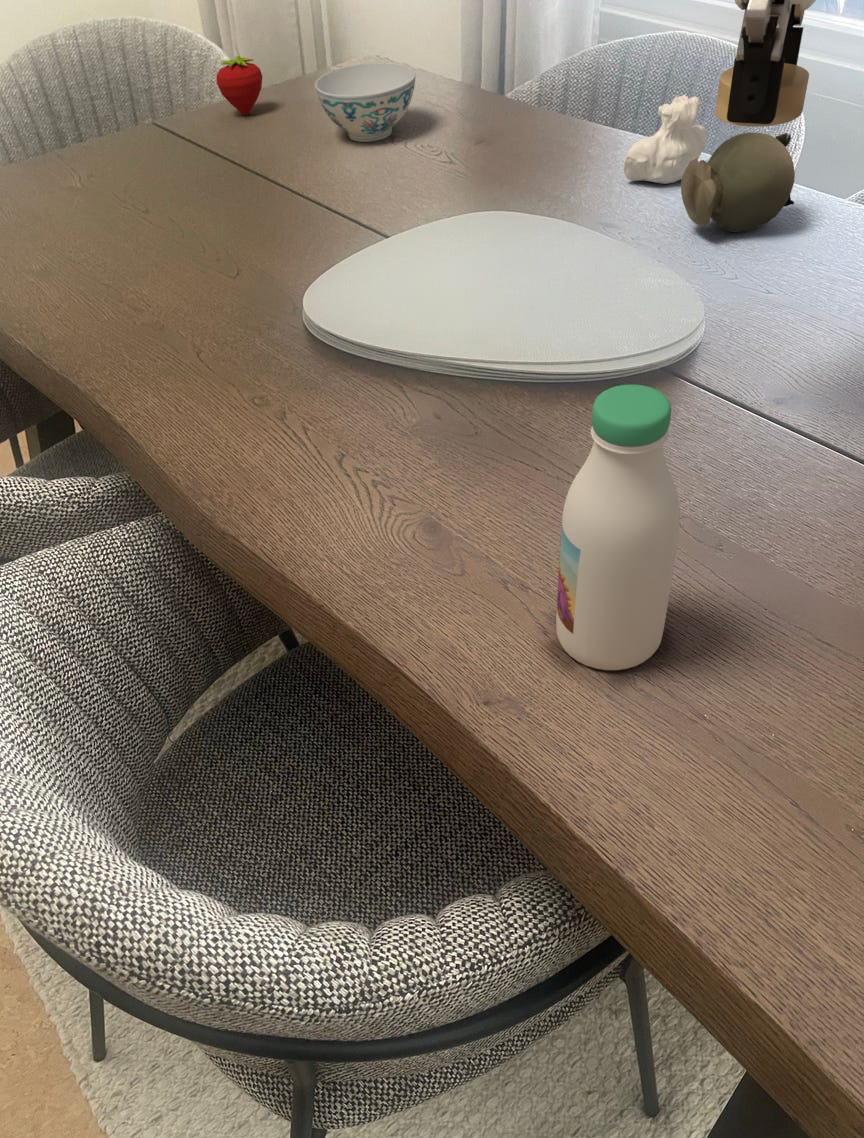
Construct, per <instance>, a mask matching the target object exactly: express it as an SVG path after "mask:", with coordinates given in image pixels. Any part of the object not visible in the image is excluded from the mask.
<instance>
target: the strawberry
mask: <svg viewBox="0 0 864 1138" xmlns="http://www.w3.org/2000/svg"><path fill="white" fill-rule="evenodd" d="M234 47H235V50H236V52H237V54H238V56H235V57H234V59H229V60H228V59H227V60H222V62H221V63H220V65H222V66H223V65H225V66H223V67H221V68H220V69H219V70H218V72H217V73H216V85H217V87H218V90H219V91H220V93H221V95H222V96H223V97H224V98H225V100H226V101H228V103H229V104H230V105H232V106H233V107H234V109H236V110H237V111H238V112H239V113H240V114H241V115H242V116H248V115H250V113H251V112H252V110H253V107H254V106H255V104H256V102H257V101H258V98H259V95H260V93H261V90H262V87H263V74H262V71H261V69H260V67H259V66H258V65H256V64H255V63H252V61H255V60H254V58H248V57H241V55H240V52H239V51H238V48H237V46H236V45H234Z"/></svg>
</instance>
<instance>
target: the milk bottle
mask: <svg viewBox="0 0 864 1138" xmlns="http://www.w3.org/2000/svg"><path fill="white" fill-rule="evenodd" d="M671 418H672V405H671V401H670V399H669V397H667V395H665V394H664V393H663V392H661V391H660V390H658V389H656V388H653V387H651V386H647V385H642V384H622V385H616V386H613V387H610V388H608V389H605V390H604V391H602V392H601V393H599V394H598V395H597V397H596V398H595V400H594V402H593V405H592V411H591V425H592V426H591V428H590V435H591V438H592V440H593V444H592V447H591V449H590V452H589V454H588V456H587V458H586V460H585V462H584V463H583V465H582V466H581V468H580V469H579V471H578V472H577V474H576V476H575V477H574V479H573V480H572V482H571V484H570V486H569V489H568V492H567V495H566V498H565V501H564V506H563V510H562V517H561V527H560V539H559V554H558V556H559V558H558V573H557V574H558V575H557V595H556V617H555V619H556V620H555V631H556V636H557V640H558V641H559V643H560V646H561V647H562V649H563V650H564V651H565V652H566V653H567V654H568V656H570V657H571V658H572V659H574V660H575V661H577V662H578V663H580V664H582V665H584V666H586V667H590V668H593V669H596V670H602V671H621V670H627V669H631V668H635V667H637V666H639V665H641V664H644V662H646V661H647V660H648V659H650V658H651V657H652V656H653V655H654V654H655V653H656V651H657V650H658V649H659V647H660V645H661V642H662V639H663V634H664V630H665V624H666V618H667V612H668V607H669V599H670V594H671V587H672V582H673V574H674V569H675V568H674V567H675V563H676V562H675V561H676V556H677V555H676V554H677V547H678V541H679V540H678V539H679V531H680V520H681V519H680V518H681V514H680V513H681V508H680V499H679V495H678V491H677V487H676V485H675V482H674V479H673V477H672V475H671V473H670V470H669V468H668V465H667V461H666V457H665V452H664V444H665V443H666V441H667V440H668V437H669V429H670V423H671Z"/></svg>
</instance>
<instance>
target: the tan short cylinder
mask: <svg viewBox="0 0 864 1138" xmlns="http://www.w3.org/2000/svg"><path fill="white" fill-rule="evenodd" d="M733 68H734V66H733V67H730V68H728V69H726V70H724V71H723V72H722V73H721V74H720V77H719V82H718V91H717V97H716V106H715V117H716V118H718V119H719V120H720V121H722V122H723V123H727V124H730V125H735V126H739V127H740V126H741V127H750V128H751V127H755V128H756V127H771V126H772V127H773V126H778V125H783V124H786V123H789V122H792V121H795V120H797V119H798V118H799V117H801V115H802V114H803V111H804V106H805V100H806V94H807V90H808V84H809V78H810V73H809V71H808V70H807V69H806V68H804V67H802V66H800V65H798V64H797V65H793V64H788V63H784V69H783V75H782V80H781V86H780V92H779V98H778V104H777V110H776V116H775V118H774V120H773V122H772V123H770V124H754V123H733V122H729V121H728V120H727V111H728V104H729V97H730V89H731V82H732V75H733Z"/></svg>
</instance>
